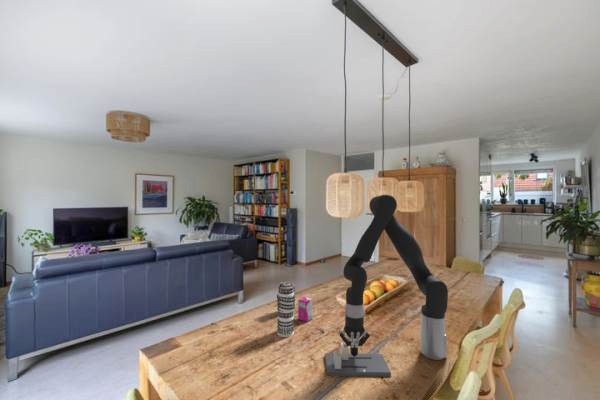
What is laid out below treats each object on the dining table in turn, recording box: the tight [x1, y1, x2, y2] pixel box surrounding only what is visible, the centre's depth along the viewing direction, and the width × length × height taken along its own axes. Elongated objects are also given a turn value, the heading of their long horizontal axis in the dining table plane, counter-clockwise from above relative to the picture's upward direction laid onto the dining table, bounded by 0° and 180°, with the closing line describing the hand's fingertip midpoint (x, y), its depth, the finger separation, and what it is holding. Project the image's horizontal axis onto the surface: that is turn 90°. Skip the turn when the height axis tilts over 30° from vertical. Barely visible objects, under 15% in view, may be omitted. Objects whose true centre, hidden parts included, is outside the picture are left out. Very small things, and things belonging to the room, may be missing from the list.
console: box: [324, 352, 392, 377], centre depth 107 cm, size 24×12×2 cm, turn 90°
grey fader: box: [333, 349, 341, 369], centre depth 104 cm, size 2×4×5 cm, turn 0°
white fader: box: [340, 341, 349, 360], centre depth 110 cm, size 2×4×5 cm, turn 0°
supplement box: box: [297, 296, 313, 324], centre depth 148 cm, size 6×6×12 cm
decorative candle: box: [276, 281, 296, 338], centre depth 133 cm, size 9×9×25 cm
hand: (354, 355), depth 110 cm, fingers closed
